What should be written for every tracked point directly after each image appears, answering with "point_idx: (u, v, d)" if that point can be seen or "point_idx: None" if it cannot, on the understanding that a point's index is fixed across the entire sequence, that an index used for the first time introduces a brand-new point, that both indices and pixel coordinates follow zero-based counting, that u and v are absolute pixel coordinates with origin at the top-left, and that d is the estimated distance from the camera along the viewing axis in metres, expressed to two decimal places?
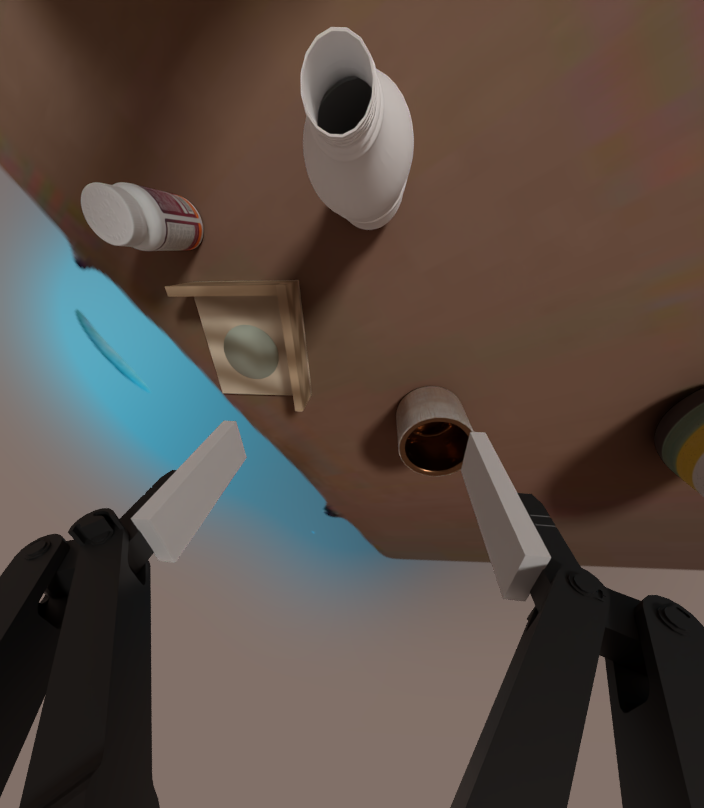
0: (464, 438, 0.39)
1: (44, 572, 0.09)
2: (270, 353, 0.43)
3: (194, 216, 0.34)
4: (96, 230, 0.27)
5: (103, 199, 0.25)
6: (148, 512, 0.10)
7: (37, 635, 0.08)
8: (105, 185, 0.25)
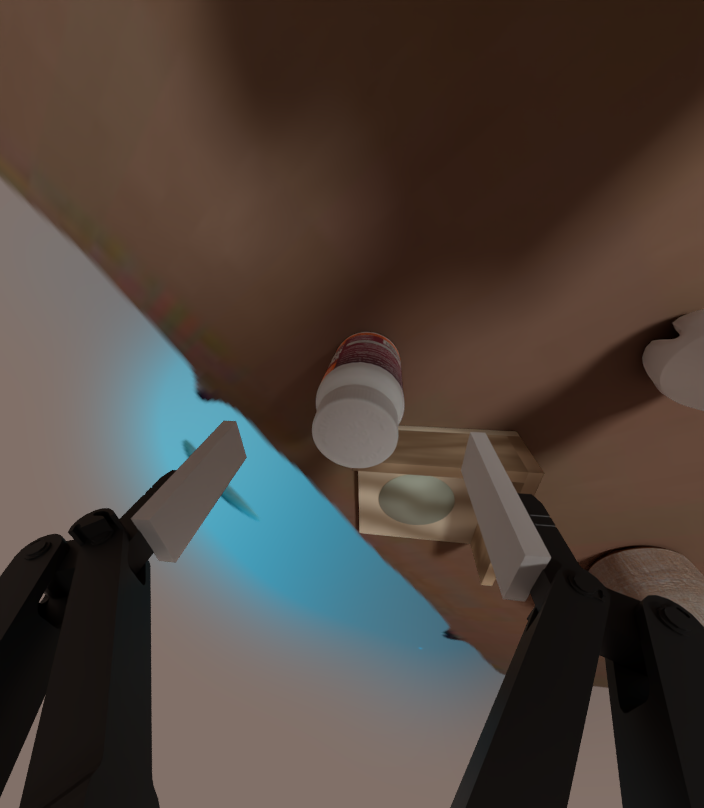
0: None
1: (44, 572, 0.09)
2: (442, 503, 0.32)
3: (400, 363, 0.23)
4: (324, 450, 0.16)
5: (357, 418, 0.15)
6: (148, 512, 0.10)
7: (37, 635, 0.08)
8: (371, 403, 0.14)
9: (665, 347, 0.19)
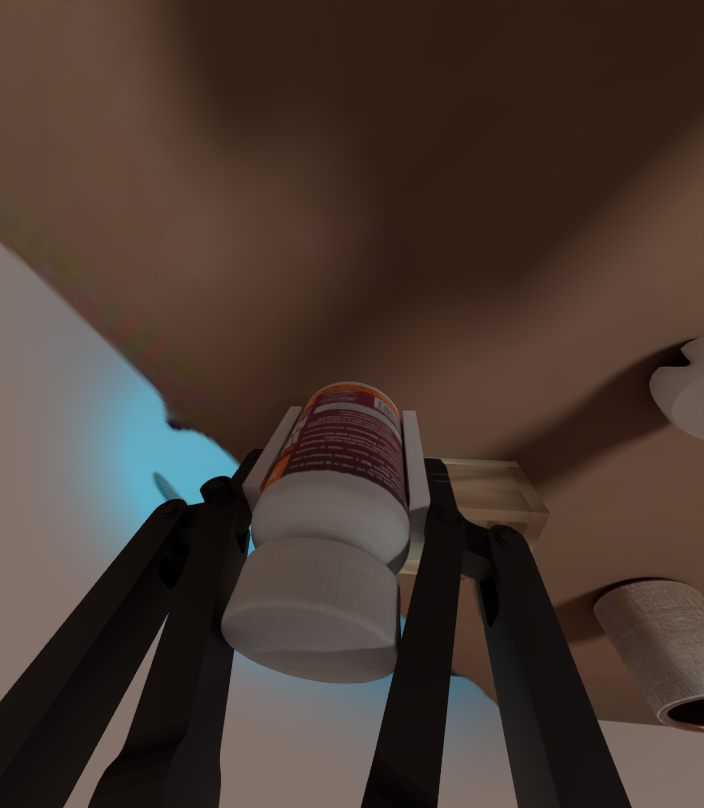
0: None
1: (168, 535, 0.10)
2: None
3: (401, 431, 0.15)
4: (254, 657, 0.08)
5: (312, 630, 0.07)
6: (255, 481, 0.11)
7: (153, 592, 0.09)
8: (340, 613, 0.06)
9: (676, 376, 0.18)
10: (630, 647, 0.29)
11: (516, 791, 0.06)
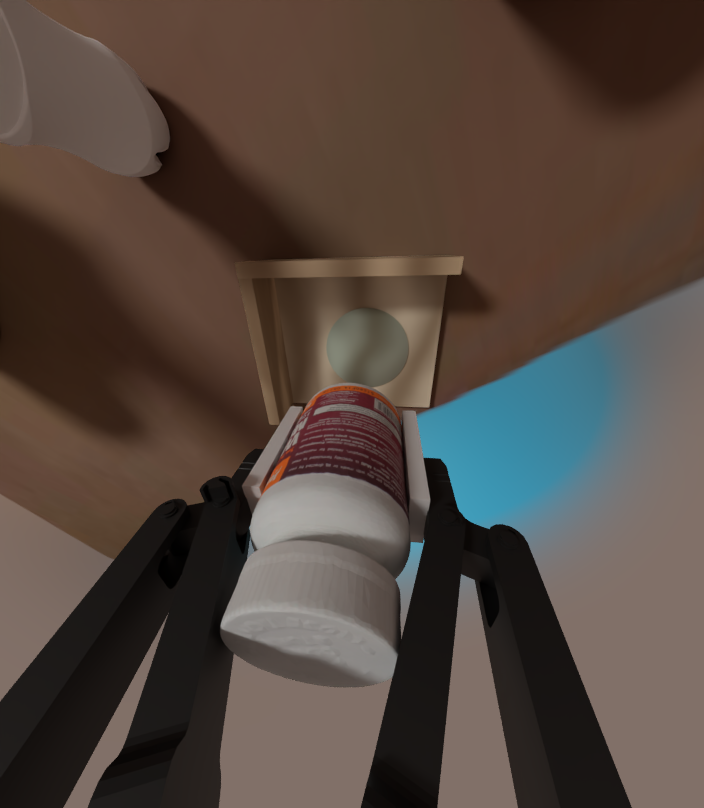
0: None
1: (168, 535, 0.10)
2: (366, 321, 0.28)
3: (401, 432, 0.15)
4: (254, 661, 0.08)
5: (312, 635, 0.07)
6: (255, 481, 0.11)
7: (154, 592, 0.09)
8: (339, 618, 0.06)
9: None
10: None
11: (516, 791, 0.06)
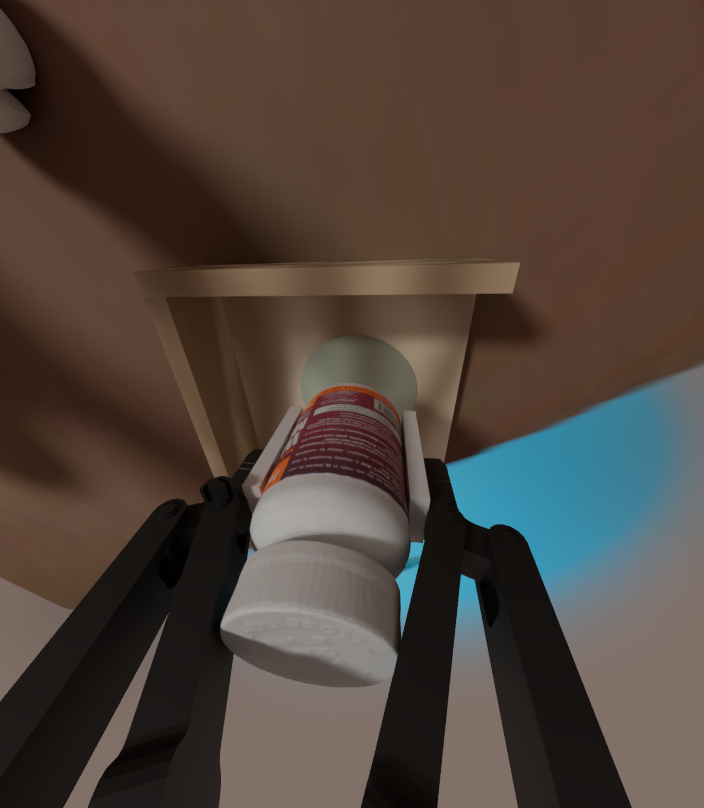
0: None
1: (168, 535, 0.10)
2: (356, 353, 0.19)
3: (401, 433, 0.15)
4: (253, 661, 0.08)
5: (312, 635, 0.07)
6: (255, 481, 0.11)
7: (154, 592, 0.09)
8: (339, 618, 0.06)
9: None
10: None
11: (516, 791, 0.06)
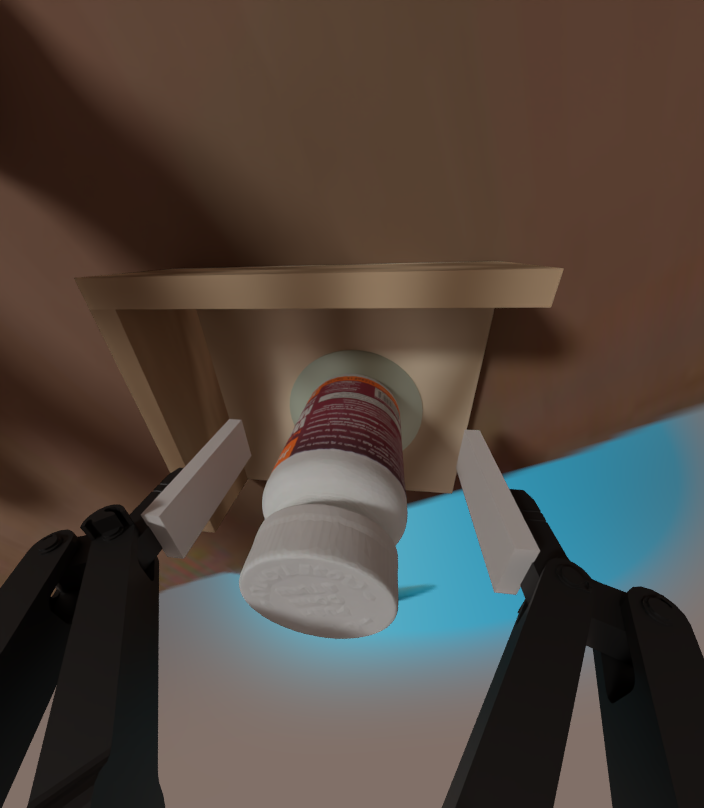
0: None
1: (55, 567, 0.09)
2: (353, 370, 0.17)
3: None
4: (267, 613, 0.09)
5: (320, 582, 0.08)
6: (157, 508, 0.10)
7: (48, 630, 0.08)
8: (345, 563, 0.07)
9: None
10: None
11: None
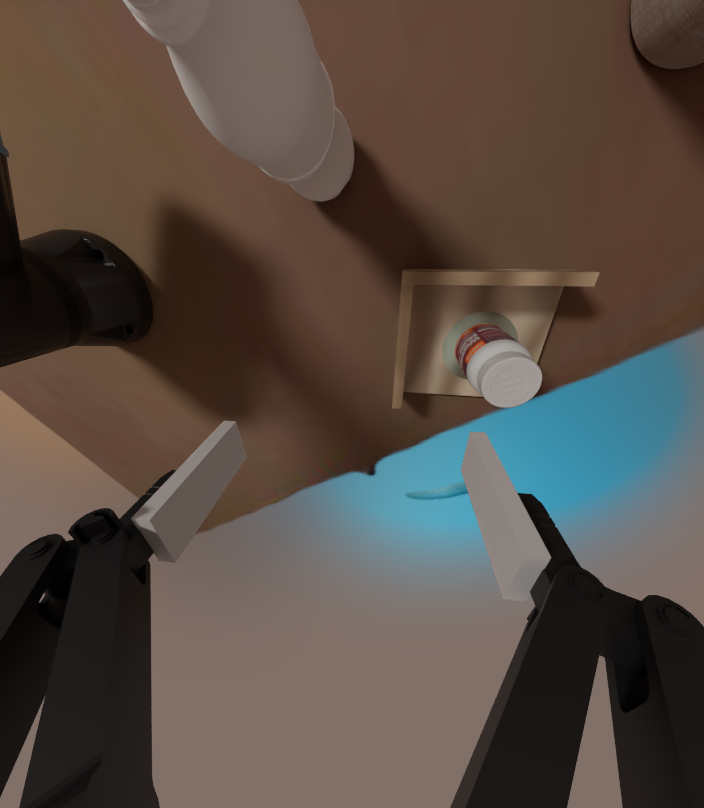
0: None
1: (44, 572, 0.09)
2: (484, 322, 0.33)
3: None
4: (487, 393, 0.25)
5: (517, 371, 0.24)
6: (148, 512, 0.10)
7: (37, 635, 0.08)
8: (530, 361, 0.23)
9: None
10: None
11: None
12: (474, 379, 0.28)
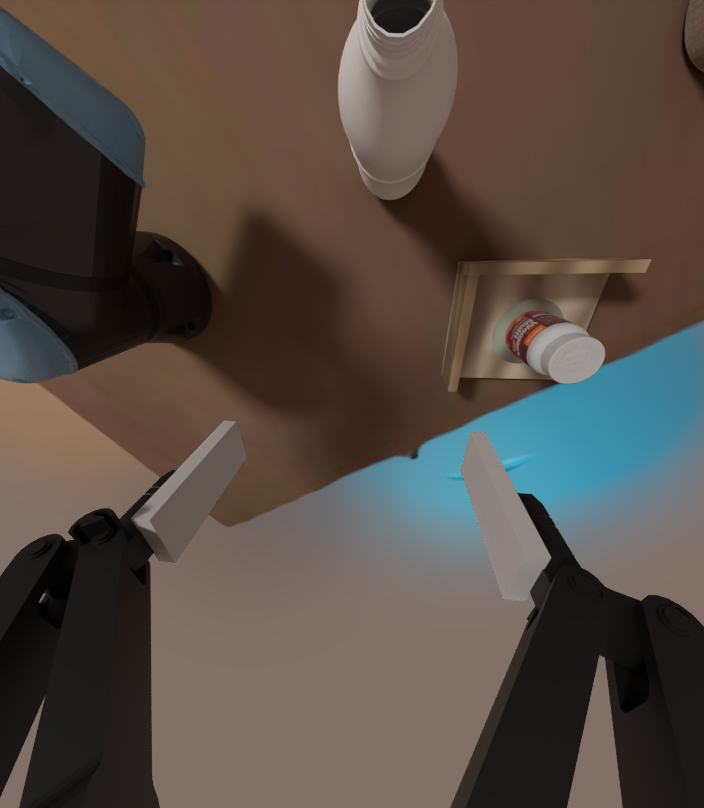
0: None
1: (44, 572, 0.09)
2: (533, 309, 0.36)
3: None
4: (553, 371, 0.28)
5: (583, 350, 0.27)
6: (148, 512, 0.10)
7: (37, 635, 0.08)
8: (595, 340, 0.26)
9: (385, 199, 0.30)
10: None
11: None
12: (536, 360, 0.30)
